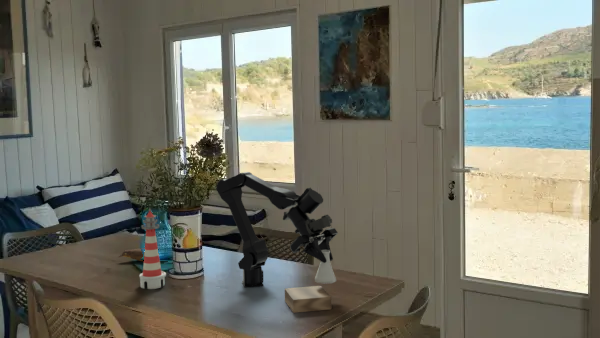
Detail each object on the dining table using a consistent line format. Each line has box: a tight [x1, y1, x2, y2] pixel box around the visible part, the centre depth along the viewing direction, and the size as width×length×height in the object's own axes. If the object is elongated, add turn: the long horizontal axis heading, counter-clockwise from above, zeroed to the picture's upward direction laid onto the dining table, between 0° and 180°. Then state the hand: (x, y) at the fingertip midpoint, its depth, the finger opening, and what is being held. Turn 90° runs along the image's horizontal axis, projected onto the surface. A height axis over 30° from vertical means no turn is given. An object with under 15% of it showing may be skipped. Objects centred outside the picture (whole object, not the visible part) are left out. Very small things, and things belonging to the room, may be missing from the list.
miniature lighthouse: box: [138, 208, 167, 290], centre depth 215 cm, size 9×9×30 cm
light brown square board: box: [284, 285, 332, 313], centre depth 194 cm, size 12×12×4 cm
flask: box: [314, 249, 338, 285], centre depth 198 cm, size 7×7×10 cm
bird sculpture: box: [117, 248, 144, 262], centre depth 252 cm, size 7×25×5 cm, turn 102°
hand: (328, 261), depth 197 cm, fingers closed on flask, 3 cm apart
